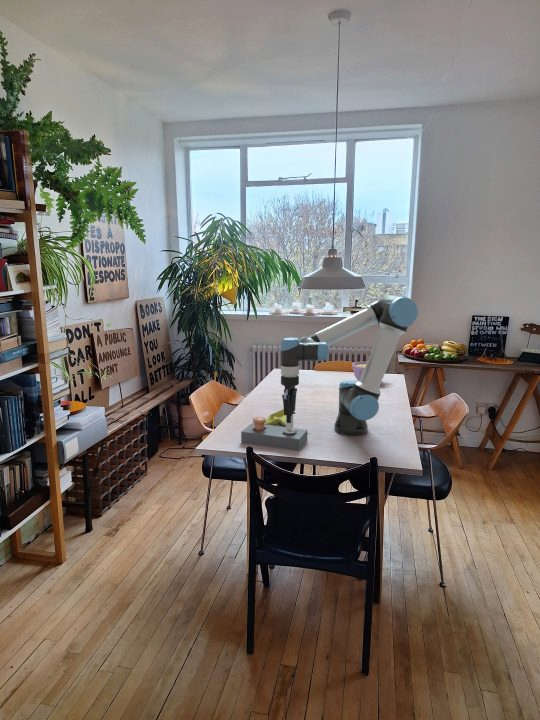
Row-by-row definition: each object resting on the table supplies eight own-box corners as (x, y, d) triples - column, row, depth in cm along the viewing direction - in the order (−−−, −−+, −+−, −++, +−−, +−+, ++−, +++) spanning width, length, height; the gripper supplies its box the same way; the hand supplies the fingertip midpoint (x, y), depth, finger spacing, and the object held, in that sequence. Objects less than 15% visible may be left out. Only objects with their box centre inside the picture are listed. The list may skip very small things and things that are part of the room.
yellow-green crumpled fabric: (269, 415, 229) (287, 407, 227) (275, 428, 229) (293, 420, 227) (261, 425, 209) (281, 417, 207) (268, 440, 210) (288, 432, 208)
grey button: (298, 441, 199) (298, 428, 198) (294, 446, 194) (294, 432, 193) (285, 439, 201) (285, 426, 200) (281, 444, 196) (281, 431, 195)
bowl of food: (388, 381, 303) (389, 364, 300) (373, 387, 288) (374, 369, 286) (361, 376, 316) (362, 360, 313) (345, 382, 301) (346, 364, 299)
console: (307, 440, 201) (307, 429, 200) (298, 450, 190) (299, 439, 189) (252, 433, 210) (252, 422, 209) (241, 442, 199) (241, 431, 198)
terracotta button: (267, 430, 204) (267, 417, 202) (263, 434, 198) (262, 421, 197) (256, 429, 206) (255, 416, 204) (251, 433, 200) (250, 420, 199)
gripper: (286, 371, 199) (286, 423, 204) (275, 377, 187) (275, 433, 192) (303, 372, 196) (302, 425, 201) (293, 379, 185) (293, 435, 189)
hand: (289, 429), depth 196 cm, fingers closed
